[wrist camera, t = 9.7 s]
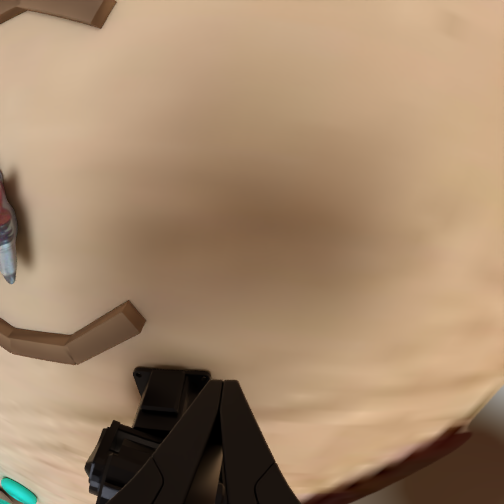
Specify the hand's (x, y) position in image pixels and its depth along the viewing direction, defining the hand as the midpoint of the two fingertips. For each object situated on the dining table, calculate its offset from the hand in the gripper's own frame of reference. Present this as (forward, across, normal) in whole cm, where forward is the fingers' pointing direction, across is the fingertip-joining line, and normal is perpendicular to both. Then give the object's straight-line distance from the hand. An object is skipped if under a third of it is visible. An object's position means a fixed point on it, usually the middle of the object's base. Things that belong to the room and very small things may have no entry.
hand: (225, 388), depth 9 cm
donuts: (+12, +56, +61) cm, 84 cm away
